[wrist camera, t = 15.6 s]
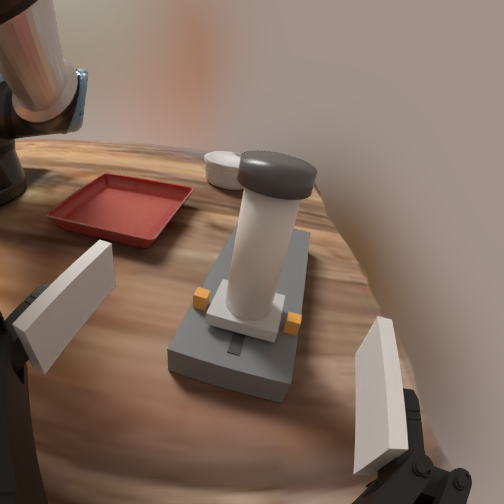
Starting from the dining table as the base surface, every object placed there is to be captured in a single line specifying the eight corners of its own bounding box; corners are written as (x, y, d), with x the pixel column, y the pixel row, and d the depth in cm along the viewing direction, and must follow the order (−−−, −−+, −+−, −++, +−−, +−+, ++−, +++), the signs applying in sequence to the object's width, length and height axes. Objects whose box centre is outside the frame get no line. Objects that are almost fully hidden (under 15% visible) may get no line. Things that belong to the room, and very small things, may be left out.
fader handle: (274, 343, 25) (323, 184, 18) (204, 324, 26) (225, 161, 19) (282, 304, 30) (322, 164, 22) (221, 288, 30) (244, 145, 23)
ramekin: (264, 184, 67) (269, 161, 64) (236, 197, 59) (240, 171, 56) (222, 169, 71) (225, 148, 68) (191, 180, 62) (193, 155, 60)
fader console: (281, 402, 24) (296, 373, 22) (168, 370, 25) (167, 336, 23) (304, 250, 46) (312, 223, 44) (239, 233, 47) (244, 206, 45)
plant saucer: (154, 261, 38) (154, 238, 36) (46, 234, 38) (43, 213, 37) (193, 205, 54) (195, 187, 52) (104, 188, 54) (104, 172, 52)
